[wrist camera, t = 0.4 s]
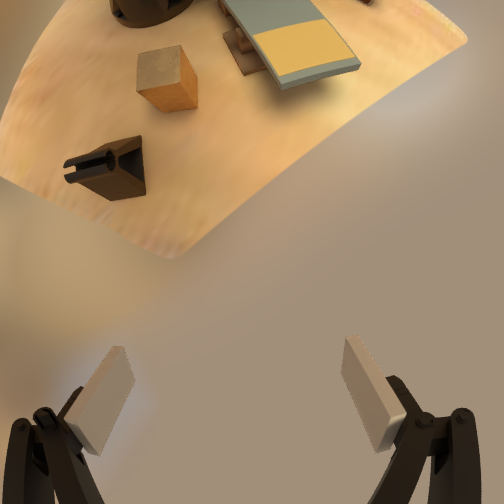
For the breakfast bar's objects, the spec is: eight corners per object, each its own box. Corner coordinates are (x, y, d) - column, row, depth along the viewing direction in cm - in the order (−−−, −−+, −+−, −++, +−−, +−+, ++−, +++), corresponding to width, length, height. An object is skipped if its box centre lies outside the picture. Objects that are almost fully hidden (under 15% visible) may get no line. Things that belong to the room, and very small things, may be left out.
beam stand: (207, 9, 30) (201, -13, 24) (281, -11, 29) (285, -33, 23) (243, 76, 34) (243, 57, 28) (323, 52, 33) (335, 33, 26)
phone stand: (146, 195, 38) (108, 201, 26) (111, 200, 38) (66, 209, 26) (141, 135, 36) (103, 120, 24) (107, 143, 36) (62, 134, 24)
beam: (213, -9, 26) (209, -25, 22) (276, -25, 25) (276, -40, 21) (281, 91, 26) (281, 74, 23) (358, 70, 25) (366, 54, 22)
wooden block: (164, 82, 34) (138, 54, 23) (197, 77, 34) (180, 45, 23) (164, 112, 35) (136, 91, 24) (197, 108, 35) (180, 82, 24)
